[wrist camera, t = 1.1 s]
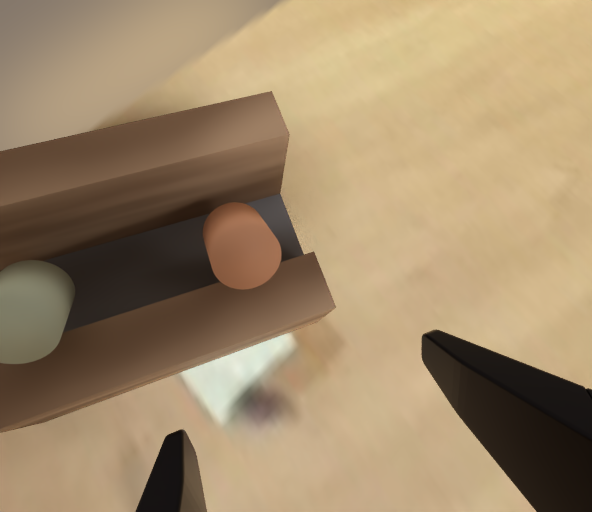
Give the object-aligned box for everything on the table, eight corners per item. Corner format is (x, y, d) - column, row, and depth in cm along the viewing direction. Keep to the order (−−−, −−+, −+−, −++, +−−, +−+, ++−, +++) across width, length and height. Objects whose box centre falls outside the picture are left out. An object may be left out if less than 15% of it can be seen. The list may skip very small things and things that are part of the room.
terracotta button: (283, 287, 19) (291, 263, 15) (225, 306, 18) (217, 288, 14) (256, 213, 20) (257, 172, 16) (200, 229, 19) (186, 191, 15)
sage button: (96, 350, 17) (48, 343, 13) (25, 374, 16) (-50, 375, 12) (77, 264, 18) (27, 233, 14) (9, 284, 17) (-64, 257, 13)
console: (317, 321, 23) (355, 292, 15) (43, 422, 20) (-112, 459, 11) (265, 184, 26) (271, 91, 17) (13, 254, 22) (-134, 181, 14)
